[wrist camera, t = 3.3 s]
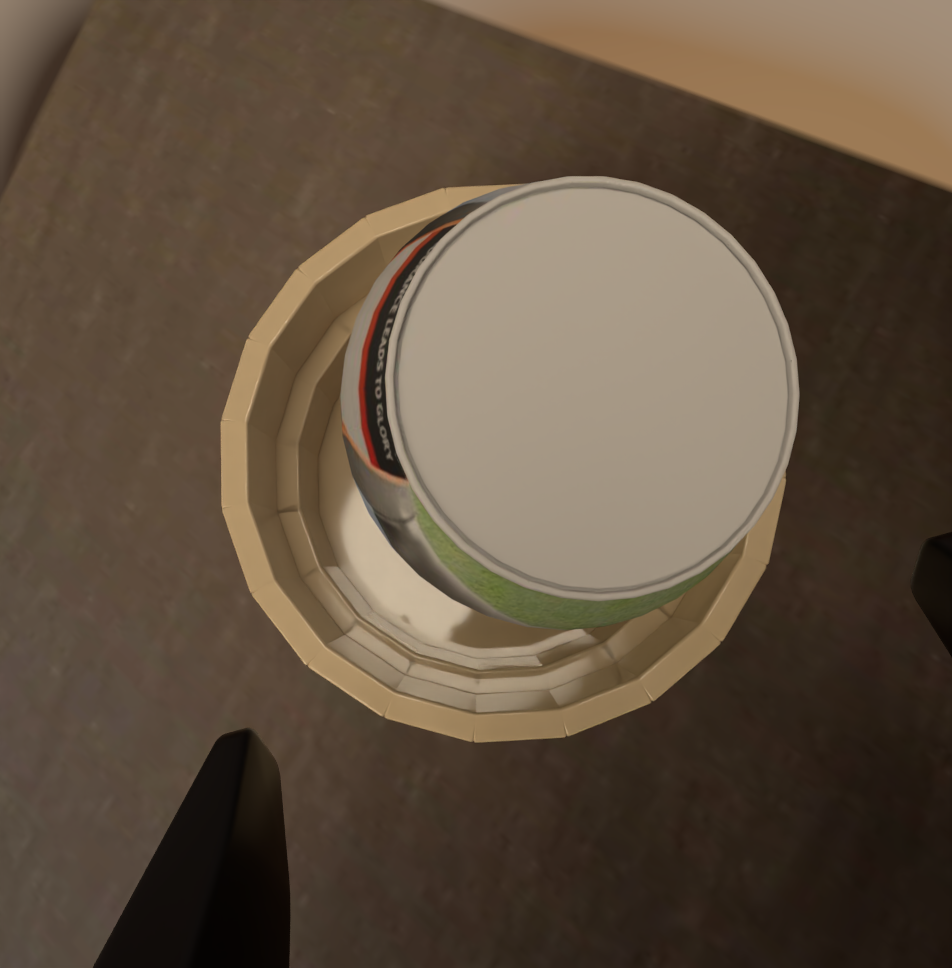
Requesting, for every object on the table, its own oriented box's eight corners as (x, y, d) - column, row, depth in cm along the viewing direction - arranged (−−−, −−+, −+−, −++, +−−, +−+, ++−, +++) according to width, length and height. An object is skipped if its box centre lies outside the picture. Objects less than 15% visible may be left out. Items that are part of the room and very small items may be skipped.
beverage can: (416, 329, 20) (335, -23, 8) (656, 421, 20) (939, 196, 8) (330, 532, 19) (106, 475, 7) (579, 631, 19) (762, 736, 7)
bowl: (794, 509, 20) (901, 490, 15) (463, 791, 19) (461, 869, 14) (523, 197, 21) (539, 82, 16) (197, 447, 20) (107, 408, 15)
